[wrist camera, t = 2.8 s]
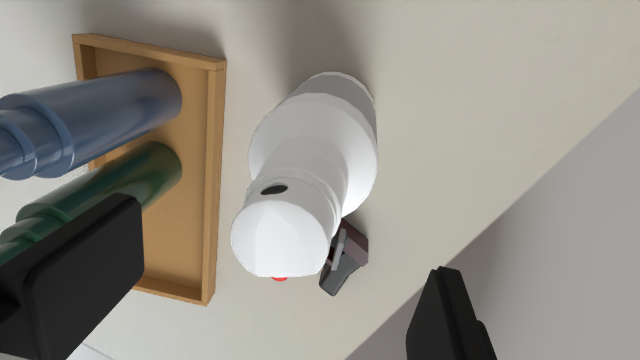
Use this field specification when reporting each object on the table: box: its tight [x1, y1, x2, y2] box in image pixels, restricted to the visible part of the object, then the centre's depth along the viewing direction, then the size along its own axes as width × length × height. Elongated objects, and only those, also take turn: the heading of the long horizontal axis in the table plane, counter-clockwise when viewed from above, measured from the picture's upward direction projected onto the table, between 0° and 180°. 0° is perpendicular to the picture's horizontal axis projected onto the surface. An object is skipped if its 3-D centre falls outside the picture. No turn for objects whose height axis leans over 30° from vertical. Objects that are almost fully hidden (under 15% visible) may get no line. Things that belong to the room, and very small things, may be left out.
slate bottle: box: [0, 67, 182, 180], centre depth 21 cm, size 5×5×18 cm
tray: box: [72, 33, 227, 307], centre depth 32 cm, size 24×11×2 cm, turn 170°
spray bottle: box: [230, 72, 378, 278], centre depth 20 cm, size 7×7×18 cm
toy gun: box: [272, 218, 368, 296], centre depth 31 cm, size 10×12×5 cm
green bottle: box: [0, 141, 182, 266], centre depth 23 cm, size 5×5×18 cm
